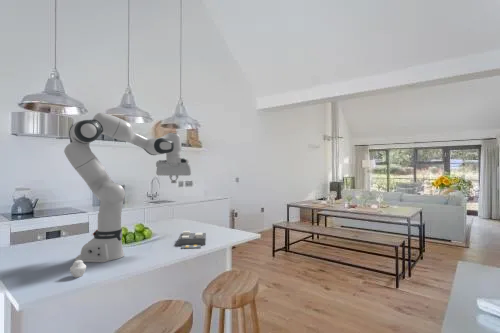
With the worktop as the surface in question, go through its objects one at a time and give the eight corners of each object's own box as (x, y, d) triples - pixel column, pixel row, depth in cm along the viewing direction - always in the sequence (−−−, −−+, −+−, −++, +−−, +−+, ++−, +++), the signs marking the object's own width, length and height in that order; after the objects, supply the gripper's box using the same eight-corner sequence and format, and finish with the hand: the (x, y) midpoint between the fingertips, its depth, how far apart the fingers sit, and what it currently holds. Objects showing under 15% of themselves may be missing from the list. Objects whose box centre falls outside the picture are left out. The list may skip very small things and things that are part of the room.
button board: (178, 245, 172) (178, 239, 172) (180, 239, 186) (180, 233, 186) (205, 245, 174) (205, 238, 174) (205, 239, 188) (205, 232, 188)
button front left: (181, 242, 174) (181, 237, 174) (182, 240, 178) (182, 235, 178) (188, 242, 174) (188, 237, 174) (189, 240, 178) (189, 235, 178)
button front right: (195, 239, 175) (195, 234, 175) (195, 237, 179) (195, 233, 179) (202, 239, 175) (202, 234, 175) (202, 237, 179) (202, 232, 179)
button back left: (182, 237, 181) (182, 232, 181) (183, 235, 185) (183, 230, 185) (189, 236, 181) (189, 232, 181) (190, 235, 185) (190, 230, 185)
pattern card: (181, 248, 166) (181, 247, 166) (182, 246, 171) (182, 244, 171) (200, 248, 167) (200, 246, 167) (200, 245, 172) (200, 244, 172)
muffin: (83, 272, 129) (83, 256, 129) (88, 275, 125) (88, 259, 125) (67, 276, 125) (67, 260, 125) (72, 280, 120) (72, 263, 120)
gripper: (155, 160, 170) (155, 183, 170) (190, 160, 173) (190, 183, 173) (157, 160, 176) (157, 182, 176) (191, 160, 179) (191, 182, 179)
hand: (173, 183), depth 174 cm, fingers closed
